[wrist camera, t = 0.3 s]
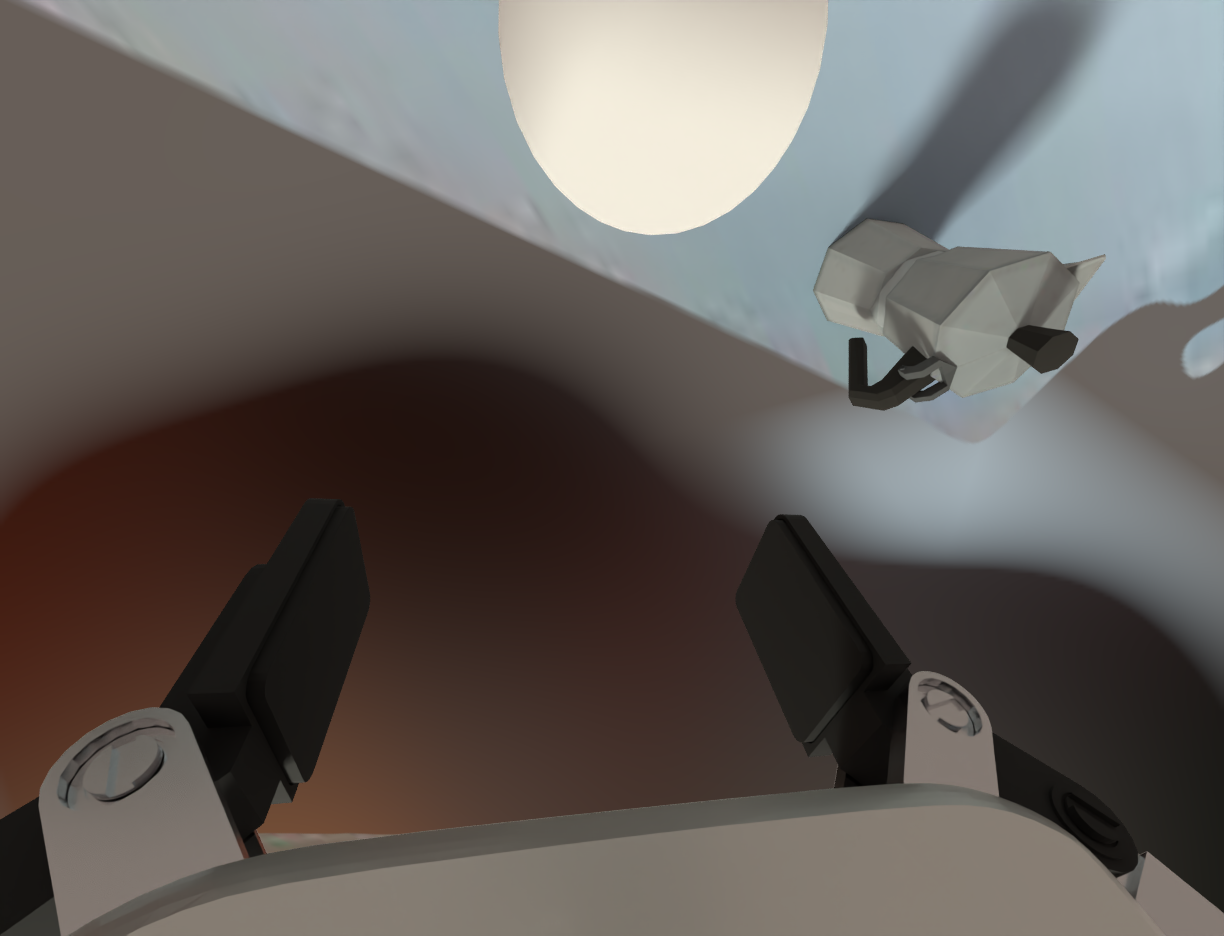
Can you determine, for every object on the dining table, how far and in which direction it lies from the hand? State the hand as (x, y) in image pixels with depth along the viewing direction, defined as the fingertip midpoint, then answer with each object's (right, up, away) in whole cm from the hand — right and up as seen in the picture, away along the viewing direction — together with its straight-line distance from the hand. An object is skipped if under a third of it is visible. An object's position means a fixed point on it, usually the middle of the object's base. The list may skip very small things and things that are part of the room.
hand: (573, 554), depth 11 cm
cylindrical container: (-1, +25, +20) cm, 32 cm away
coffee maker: (+21, +18, +29) cm, 40 cm away
